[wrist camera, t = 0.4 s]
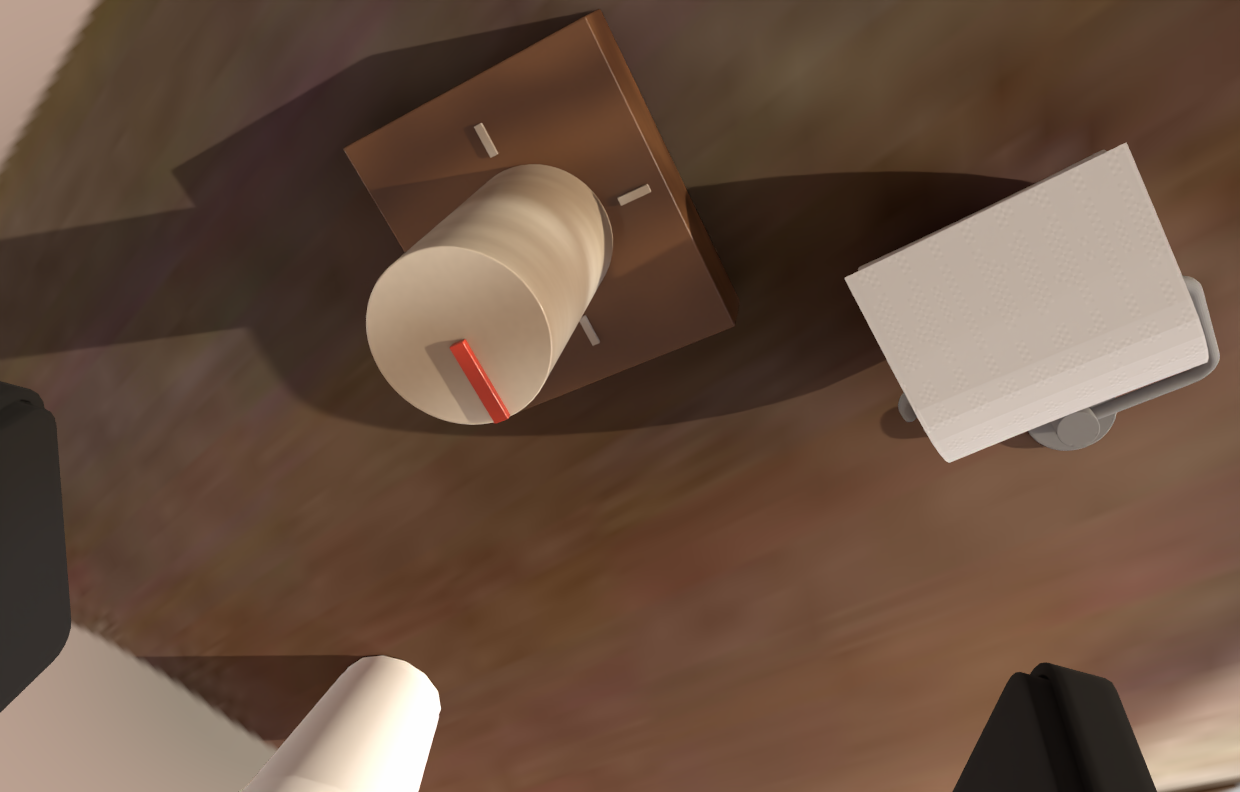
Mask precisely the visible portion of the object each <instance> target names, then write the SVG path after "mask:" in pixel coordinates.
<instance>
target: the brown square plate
mask: <svg viewBox="0 0 1240 792" xmlns="http://www.w3.org/2000/svg"><path fill="white" fill-rule="evenodd" d="M344 151H345V153H346V155H347V156H348V158H349V160H350V161H351V163H352V165H353V166H354V168H355V170H356V171H357V173H358V175H359V176H360V178H361V180H362V181H363V183H364V185H365V186H366V188H367V190H368V192H369V193H370V195H371V197H372V198H373V200H374V202H375V203H376V205H377V207H378V208H379V210H380V212H381V213H382V215H383V217H384V218H385V220H386V222H387V223H388V225H389V227H390V228H391V230H392V232H393V233H394V235H395V237H396V239H397V240H398V242H399V244H400V245H401V247H402V249H403V250H404V252H407V251H408V250H409V249H410V248H411V247H412V246H414V245H415V244H416V243H417V242H418V241H419V240H421V239H422V238H423V237H424V236H425V235H426V234H428V233H429V232H430V231H431V230H432V229H433V228H434V227H436V226H437V225H438V224H439V223H440V222H441V221H443V220H444V219H445V218H446V217H447V216H448V215H450V214H451V213H452V212H453V211H454V210H455V209H457V208H458V207H459V206H460V205H461V204H462V203H464V202H465V201H466V200H467V199H468V198H469V197H470V196H472V195H473V194H474V193H475V192H476V191H477V190H479V189H480V188H481V187H482V186H483V185H484V184H486V183H487V182H488V181H489V180H490V179H492V178H493V177H494V176H496V175H497V174H499V173H501V172H502V171H504V170H507V169H509V168H512V167H516V166H520V165H527V164H541V165H547V166H552V167H555V168H558V169H561V170H563V171H566V172H568V173H570V174H572V175H573V176H575V177H577V178H578V179H579V180H581V181H582V182H583V183H585V184H586V185H587V186H588V187H589V188H590V189H591V190H592V191H593V192H594V194H595V195H596V196H597V198H598V199H599V200H600V202H601V204H602V205H603V207H604V209H605V211H606V213H607V215H608V218H609V221H610V225H611V229H612V235H613V251H612V258H611V262H610V265H609V268H608V270H607V273H606V275H605V276H604V278H603V280H602V282H601V283H600V285H599V287H598V289H597V291H596V292H595V294H594V296H593V298H592V299H591V301H590V303H589V305H588V307H587V308H586V310H585V312H584V314H583V315H582V317H581V319H580V321H579V323H578V324H577V326H576V328H575V330H574V332H573V333H572V335H571V337H570V339H569V340H568V342H567V344H566V346H565V348H564V349H563V351H562V353H561V355H560V356H559V358H558V360H557V362H556V364H555V365H554V367H553V369H552V371H551V372H550V374H549V376H548V378H547V380H546V381H545V383H544V385H543V387H542V388H541V390H540V392H539V393H538V394H537V395H536V397H535V398H534V399H533V400H532V401H531V402H530V403H529V404H528V405H527V406H526V407H525V408H523V409H522V410H520V411H519V412H521V411H523V410H526V409H528V408H531V407H533V406H536V405H538V404H541V403H543V402H546V401H548V400H551V399H554V398H556V397H559V396H561V395H564V394H566V393H569V392H571V391H574V390H576V389H579V388H581V387H584V386H586V385H589V384H591V383H594V382H596V381H599V380H601V379H604V378H606V377H609V376H611V375H614V374H616V373H619V372H621V371H624V370H626V369H629V368H632V367H634V366H637V365H639V364H642V363H644V362H647V361H649V360H652V359H654V358H657V357H659V356H662V355H664V354H667V353H669V352H672V351H674V350H677V349H679V348H682V347H684V346H687V345H689V344H692V343H694V342H697V341H699V340H702V339H704V338H707V337H710V336H712V335H715V334H717V333H720V332H722V331H725V330H727V329H730V328H732V327H734V326H735V324H736V319H737V314H738V308H739V303H740V300H739V298H738V296H737V294H736V292H735V290H734V288H733V286H732V284H731V282H730V280H729V277H728V275H727V273H726V271H725V269H724V267H723V265H722V263H721V261H720V259H719V257H718V254H717V252H716V250H715V248H714V246H713V244H712V242H711V240H710V238H709V236H708V234H707V231H706V229H705V227H704V225H703V223H702V221H701V219H700V217H699V215H698V213H697V210H696V208H695V206H694V204H693V202H692V200H691V198H690V196H689V194H688V192H687V190H686V187H685V185H684V183H683V181H682V179H681V177H680V175H679V173H678V171H677V169H676V167H675V164H674V162H673V160H672V158H671V156H670V154H669V152H668V150H667V148H666V146H665V143H664V141H663V139H662V137H661V135H660V133H659V131H658V129H657V127H656V125H655V123H654V120H653V118H652V116H651V114H650V112H649V110H648V108H647V106H646V104H645V102H644V100H643V97H642V95H641V93H640V91H639V89H638V87H637V85H636V83H635V81H634V79H633V76H632V74H631V72H630V70H629V68H628V66H627V64H626V62H625V60H624V58H623V56H622V53H621V51H620V49H619V47H618V45H617V43H616V41H615V39H614V37H613V35H612V33H611V30H610V28H609V26H608V24H607V22H606V20H605V18H604V16H603V14H602V12H601V10H600V9H598V10H596V11H594V12H592V13H590V14H588V15H586V16H584V17H582V18H580V19H579V20H577V21H575V22H573V23H571V24H569V25H568V26H566V27H564V28H562V29H560V30H558V31H557V32H555V33H553V34H551V35H549V36H547V37H546V38H544V39H542V40H540V41H538V42H536V43H535V44H533V45H531V46H529V47H527V48H525V49H524V50H522V51H520V52H518V53H516V54H515V55H513V56H511V57H509V58H507V59H505V60H504V61H502V62H500V63H498V64H496V65H494V66H493V67H491V68H489V69H487V70H485V71H483V72H482V73H480V74H478V75H476V76H474V77H472V78H471V79H469V80H467V81H465V82H463V83H462V84H460V85H458V86H456V87H454V88H452V89H451V90H449V91H447V92H445V93H443V94H441V95H440V96H438V97H436V98H434V99H432V100H430V101H429V102H427V103H425V104H423V105H421V106H419V107H418V108H416V109H414V110H412V111H410V112H408V113H407V114H405V115H403V116H401V117H399V118H398V119H396V120H394V121H392V122H390V123H388V124H387V125H385V126H383V127H381V128H379V129H377V130H376V131H374V132H372V133H370V134H368V135H366V136H365V137H363V138H361V139H359V140H357V141H355V142H354V143H352V144H350V145H348V146H346V147H345V148H344ZM517 413H518V412H517Z"/></svg>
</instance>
